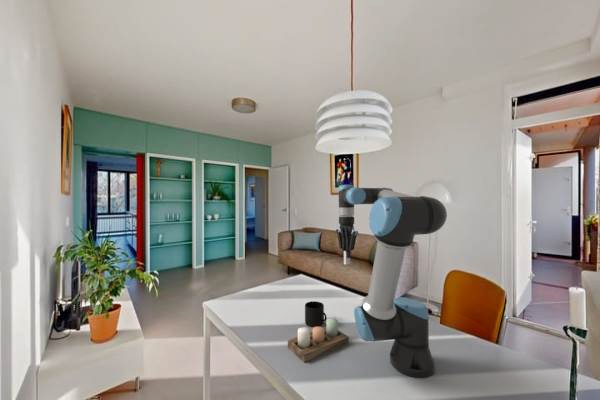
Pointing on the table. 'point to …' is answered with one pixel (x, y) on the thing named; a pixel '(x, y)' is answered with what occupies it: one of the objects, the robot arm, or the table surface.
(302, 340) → the white egg
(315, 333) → the peach egg
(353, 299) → the table surface
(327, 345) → the wooden tray
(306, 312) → the mug
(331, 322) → the pale green egg
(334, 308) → the table surface
